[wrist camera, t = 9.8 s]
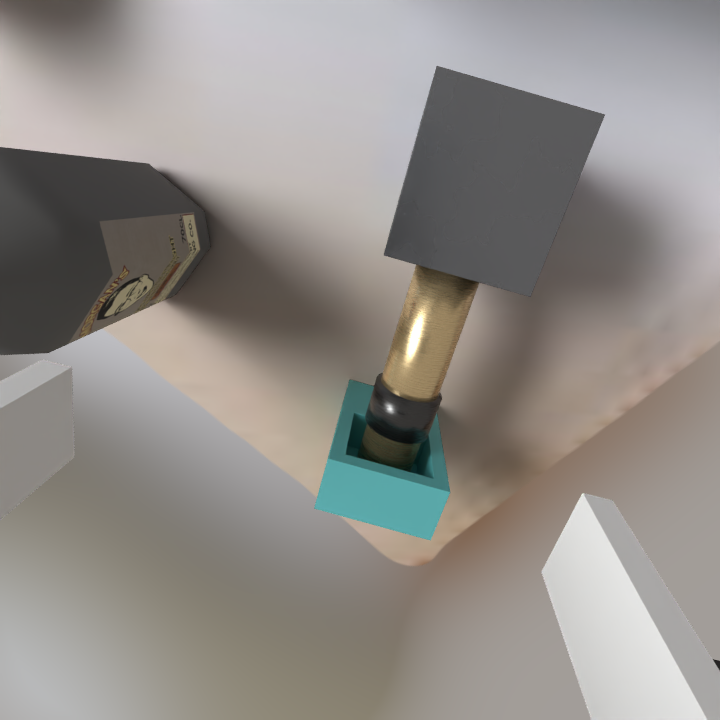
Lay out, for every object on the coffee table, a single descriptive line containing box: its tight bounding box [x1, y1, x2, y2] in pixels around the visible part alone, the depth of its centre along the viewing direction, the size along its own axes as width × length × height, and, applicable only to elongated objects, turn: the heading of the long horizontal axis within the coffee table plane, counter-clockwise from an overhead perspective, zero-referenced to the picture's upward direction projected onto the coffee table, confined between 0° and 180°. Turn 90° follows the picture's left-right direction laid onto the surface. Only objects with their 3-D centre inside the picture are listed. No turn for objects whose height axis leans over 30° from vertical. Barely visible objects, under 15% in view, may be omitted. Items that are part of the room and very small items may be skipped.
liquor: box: [0, 147, 211, 355], centre depth 24 cm, size 9×9×30 cm
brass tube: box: [357, 265, 479, 472], centre depth 30 cm, size 18×5×5 cm, turn 165°
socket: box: [315, 380, 450, 540], centre depth 36 cm, size 4×8×13 cm, turn 75°
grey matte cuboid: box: [384, 66, 605, 297], centre depth 29 cm, size 9×8×13 cm
